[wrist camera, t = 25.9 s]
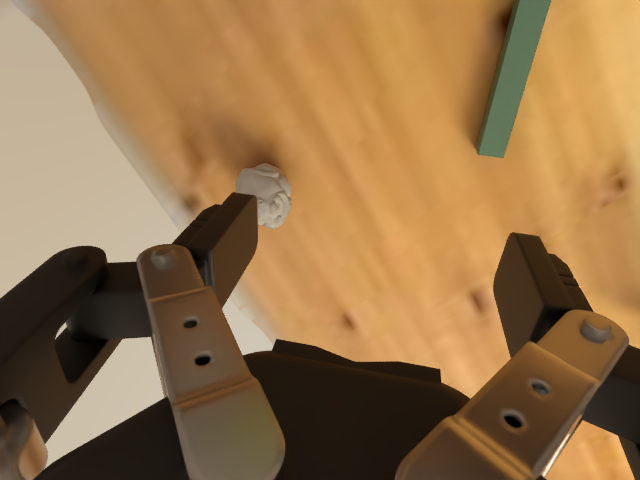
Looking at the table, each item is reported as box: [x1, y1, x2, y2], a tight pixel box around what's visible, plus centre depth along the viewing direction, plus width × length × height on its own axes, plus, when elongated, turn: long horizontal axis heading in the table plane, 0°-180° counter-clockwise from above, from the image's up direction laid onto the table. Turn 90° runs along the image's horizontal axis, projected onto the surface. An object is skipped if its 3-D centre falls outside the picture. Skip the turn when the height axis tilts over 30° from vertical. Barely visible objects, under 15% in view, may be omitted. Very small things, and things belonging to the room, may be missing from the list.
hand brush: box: [476, 0, 551, 158], centre depth 36 cm, size 24×10×3 cm, turn 176°
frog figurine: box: [236, 163, 292, 229], centre depth 46 cm, size 6×7×7 cm
